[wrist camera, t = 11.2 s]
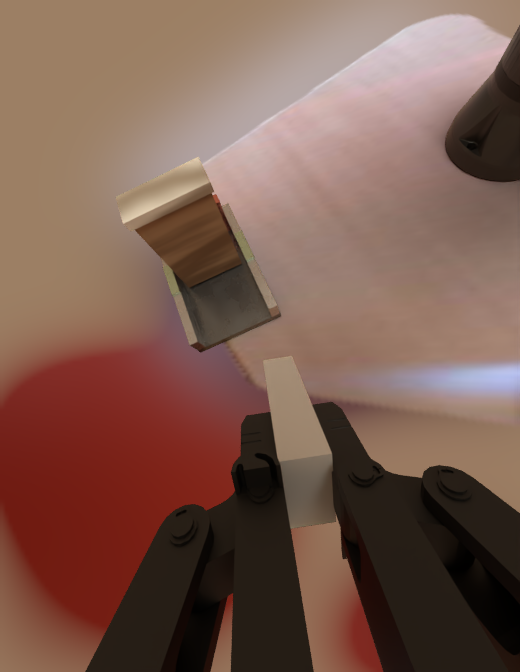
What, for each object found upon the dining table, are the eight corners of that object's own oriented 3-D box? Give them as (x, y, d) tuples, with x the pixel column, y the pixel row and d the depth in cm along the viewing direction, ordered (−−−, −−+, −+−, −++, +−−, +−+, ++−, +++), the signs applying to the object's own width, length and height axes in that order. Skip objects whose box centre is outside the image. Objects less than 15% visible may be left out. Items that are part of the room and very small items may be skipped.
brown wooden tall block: (244, 264, 40) (210, 181, 26) (188, 290, 41) (123, 223, 26) (235, 245, 41) (198, 156, 27) (181, 271, 42) (115, 197, 27)
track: (280, 316, 38) (275, 295, 32) (200, 352, 39) (178, 339, 32) (235, 221, 45) (222, 187, 38) (166, 254, 45) (142, 225, 38)
